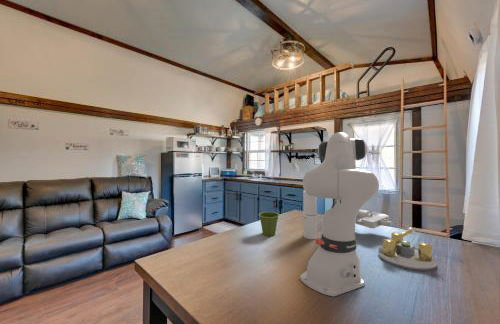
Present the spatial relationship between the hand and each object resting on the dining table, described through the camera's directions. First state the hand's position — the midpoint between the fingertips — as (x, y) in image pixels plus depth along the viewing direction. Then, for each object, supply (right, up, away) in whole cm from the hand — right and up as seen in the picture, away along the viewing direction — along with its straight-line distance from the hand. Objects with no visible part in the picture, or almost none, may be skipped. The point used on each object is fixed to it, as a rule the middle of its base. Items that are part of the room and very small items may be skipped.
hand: (391, 223), depth 116 cm
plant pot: (-63, -9, +11) cm, 65 cm away
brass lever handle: (-1, -6, -10) cm, 12 cm away
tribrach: (-8, -9, -21) cm, 25 cm away
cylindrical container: (-41, -9, +6) cm, 42 cm away
